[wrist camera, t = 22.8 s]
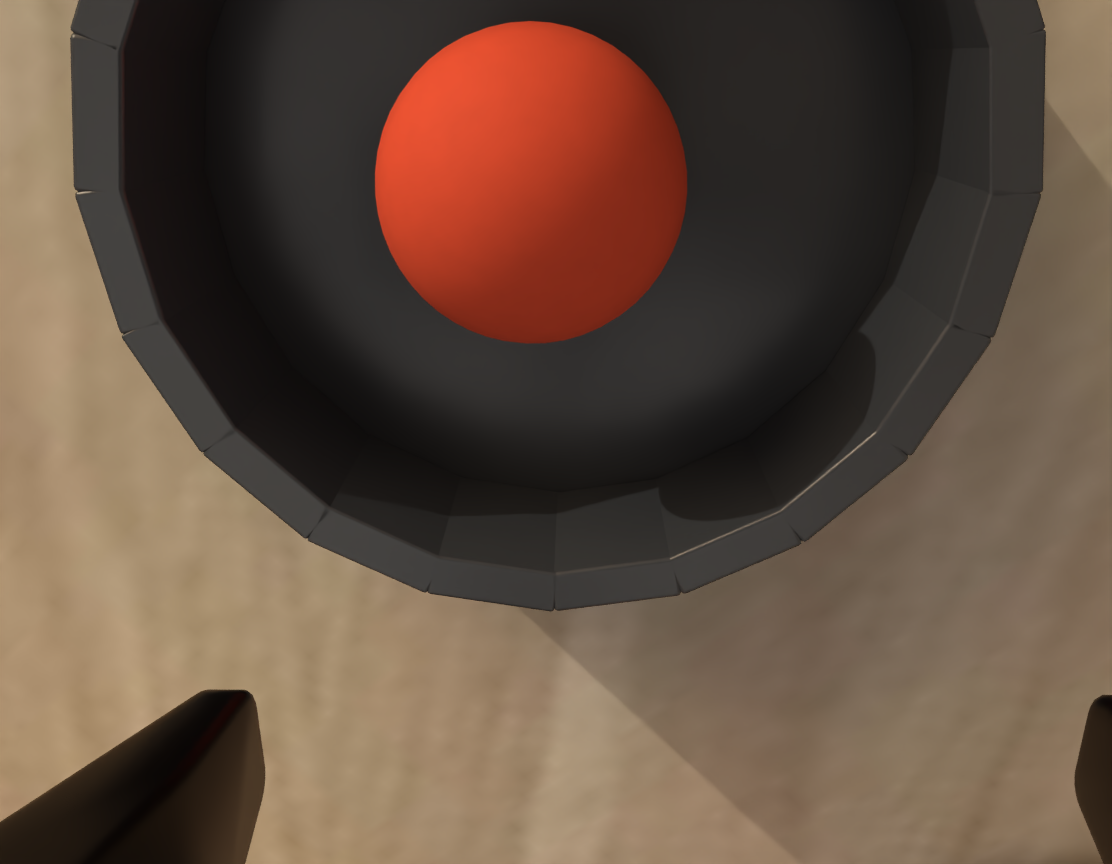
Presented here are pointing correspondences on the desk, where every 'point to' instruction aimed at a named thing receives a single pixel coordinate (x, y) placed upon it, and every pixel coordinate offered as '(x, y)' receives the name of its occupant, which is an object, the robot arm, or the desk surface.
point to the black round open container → (600, 355)
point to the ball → (530, 182)
